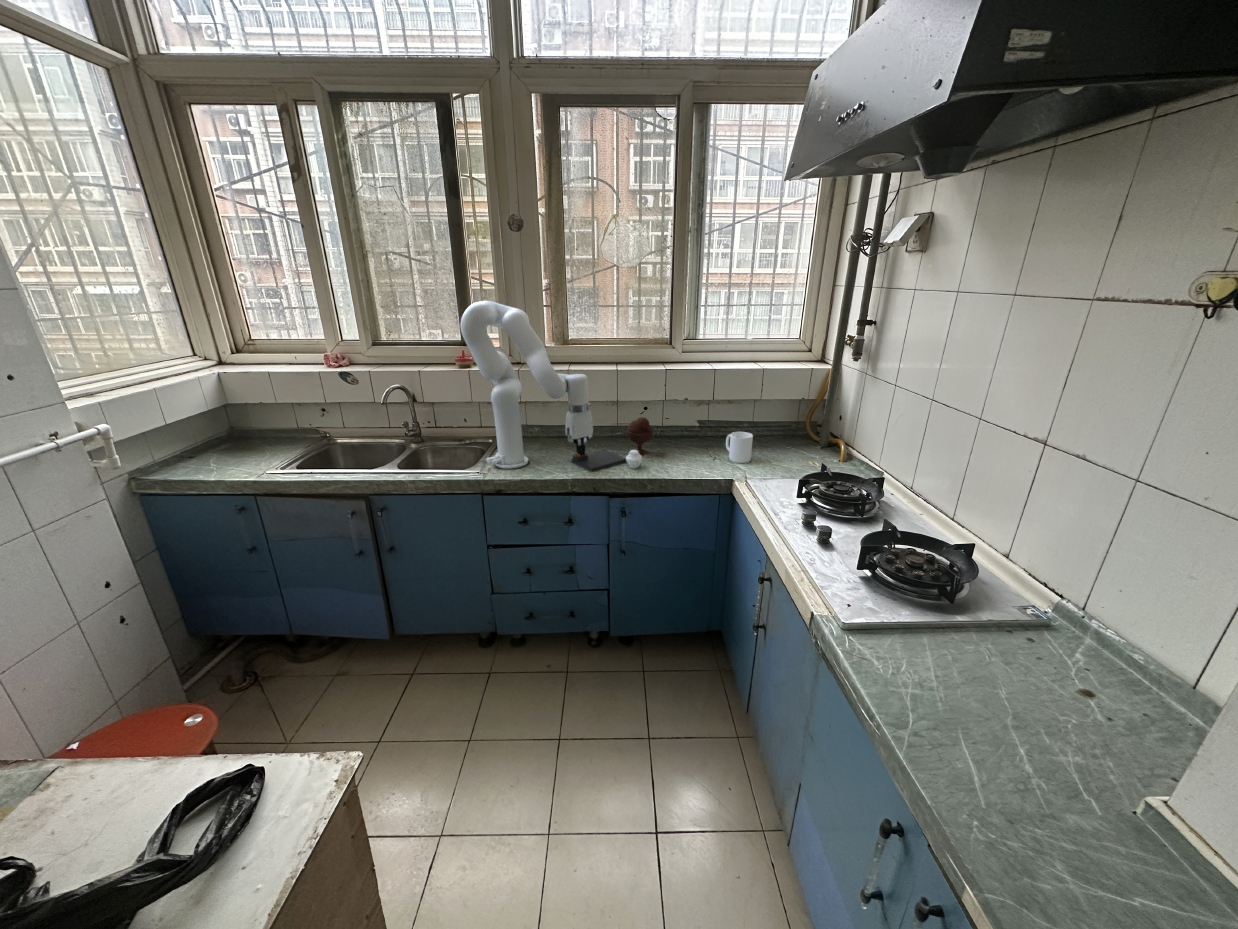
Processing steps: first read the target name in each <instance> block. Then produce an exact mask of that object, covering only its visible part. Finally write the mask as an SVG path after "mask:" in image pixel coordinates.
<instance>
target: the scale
mask: <svg viewBox="0 0 1238 929" xmlns="http://www.w3.org/2000/svg"><path fill="white" fill-rule="evenodd" d="M571 462H572V463H574V464H576V465H578V466H580V467H582V468H584V469H586V470H588V471H590V472H596V471H600V470H604V469H606V468H610V467H613V466H617V465H620V464H624V463H627V460H626V457H623V456H621V455H618V454H616V453H615V452H611V451H609V450H607V449H600V450H596V451H593V452H590V453H588V452H585V455H584V456H577V452H573V454H572V457H571Z"/></svg>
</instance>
